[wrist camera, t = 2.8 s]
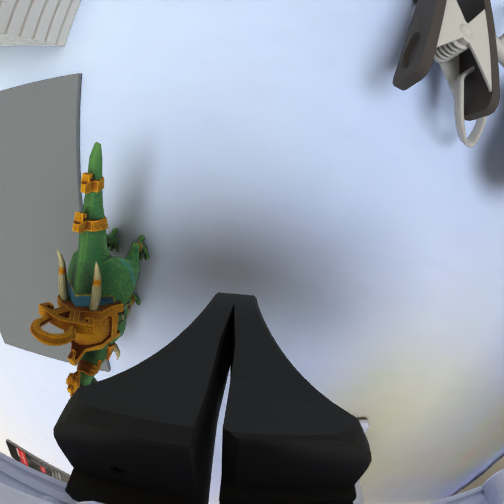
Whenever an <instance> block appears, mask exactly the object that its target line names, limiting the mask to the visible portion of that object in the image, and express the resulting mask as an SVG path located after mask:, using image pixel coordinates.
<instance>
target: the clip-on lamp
mask: <svg viewBox="0 0 504 504" xmlns="http://www.w3.org/2000/svg"><path fill="white" fill-rule="evenodd" d="M413 1H415V2H417V4H416V8H415V11H414V15H413V18H412V21H411V25H410V28H409V31H408V34H407V38H406V41H405V44H404V47H403V50H402V53H401V56H400V59H399V62H398V65H397V68H396V71H395V74H394V78H393V85H394V86H395V87H397V88H399V89H401V90H406V89H408V88H409V87H411V86H412V85H414V84H416V83H417V82H419V81H420V80H422V79H423V78H424V77H425V76H426V75H427V73H428V71H429V70H430V68H431V65H432V62H433V59H434V60H435V61H436V62H438V63H439V65H440V67H441V69H442V71H443V73H444V76H445V78H446V80H447V82H448V85H449V87H450V89H451V92H452V94H453V96H454V99H455V122H456V128H457V132H458V136H459V138H460V140H461V141H462V142H463V143H464V144H465V145H466V146H467V147H473V146H474V145H475V143H476V142H477V141H478V139H479V137H480V136H481V133H482V131H483V129H484V126H485V123H486V119H487V116H488V115H490V114H492V113H493V112H494V111H495V110H496V108H497V106H498V103H499V98H500V89H499V67H498V62H499V63H500V64H501V65H502V66H503V67H504V44H503V43H504V34H503V35H501V36H500V37H499V38H498V37H497V36H496V35H495V27H494V20H493V14H492V8H491V3H490V0H413ZM464 119H465V120H468V121H471V120H474V119H477V121H476V124H475V126H474V129H473V131H472V132H471V134H470V135H469V137H468V138H466V133H465V126H464Z"/></svg>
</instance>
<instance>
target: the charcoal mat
mask: <svg viewBox="0 0 504 504" xmlns="http://www.w3.org/2000/svg"><path fill="white" fill-rule="evenodd" d="M81 76H82V74H79V73H78V74H72V75H66V76H61V77H56V78H51V79H46V80H42V81H37V82H33V83H29V84H25V85H21V86H17V87H13V88H9V89H6V90H2V91H0V332H1V335H2V337H3V340H4V342H5V343H6V344H9V345H12V346H15V347H18V348H21V349H24V350H27V351H30V352H33V353H37V354H40V355H43V356H47V357H50V358H54V359H57V360H61V361H65V362H69V360H68V355H69V353H70V352H71V342H69V343H68V344H65V345H61V346H49V345H46V344H43V343H41V342H40V341H38V340H37V339H36V338H35V337H34V336H33V334H32V333H31V332H30V325H31V324H32V322H33V321H34V320H35V319H37V318H41V317H42V316H41V315H40V314H39V304H41V303H46V302H51V303H52V304H53V305H54V308H58V307H59V306H58V305H57V296H58V295H59V283H58V273H59V259H58V254H57V250H58V251H59V252H60V253H61V254H62V256H63V258H64V261H65V264H66V273H68V268H69V264H70V261H71V259H72V256H73V253H74V252H76V251H77V250H78V245H79V233H78V232H75V231H72V228H73V222H74V217H75V212H82V198H81V181H80V155H79V117H80V91H81ZM41 328H42V329H43V330H44V331H46V332H49V333H51V334H59V333H64V330H62V329H59V328H58V327H56V326H54V325H52V324H51V323H47V324H45V325H44V326H42V327H41ZM69 363H70V362H69ZM77 365H78V363H77ZM100 370H102V371H106V372H109V371H110V365H109V361H106V360H104V362H103V363H102V365H101V366H100Z"/></svg>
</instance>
